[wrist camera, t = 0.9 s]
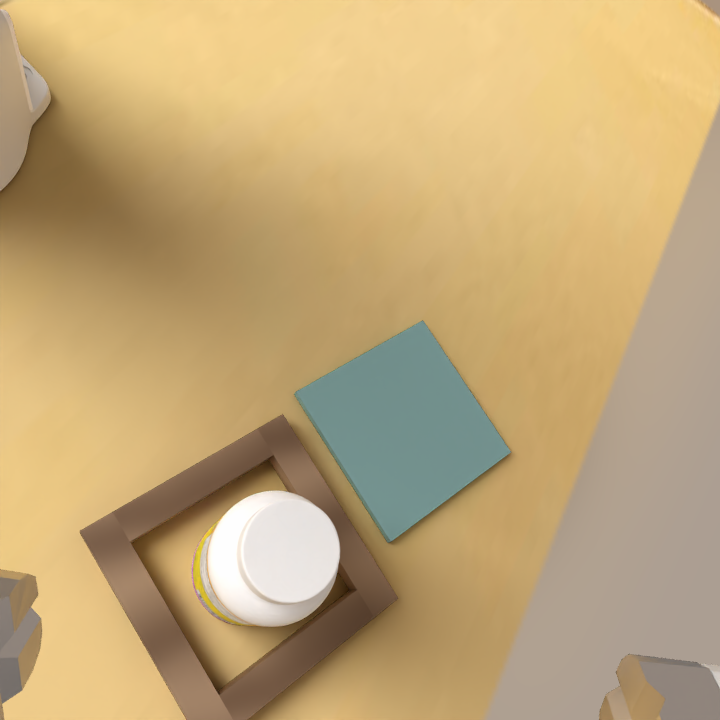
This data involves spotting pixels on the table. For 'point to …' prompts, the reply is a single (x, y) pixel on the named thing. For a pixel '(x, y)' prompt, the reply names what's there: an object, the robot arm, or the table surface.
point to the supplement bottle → (267, 561)
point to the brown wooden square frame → (155, 621)
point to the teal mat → (402, 428)
